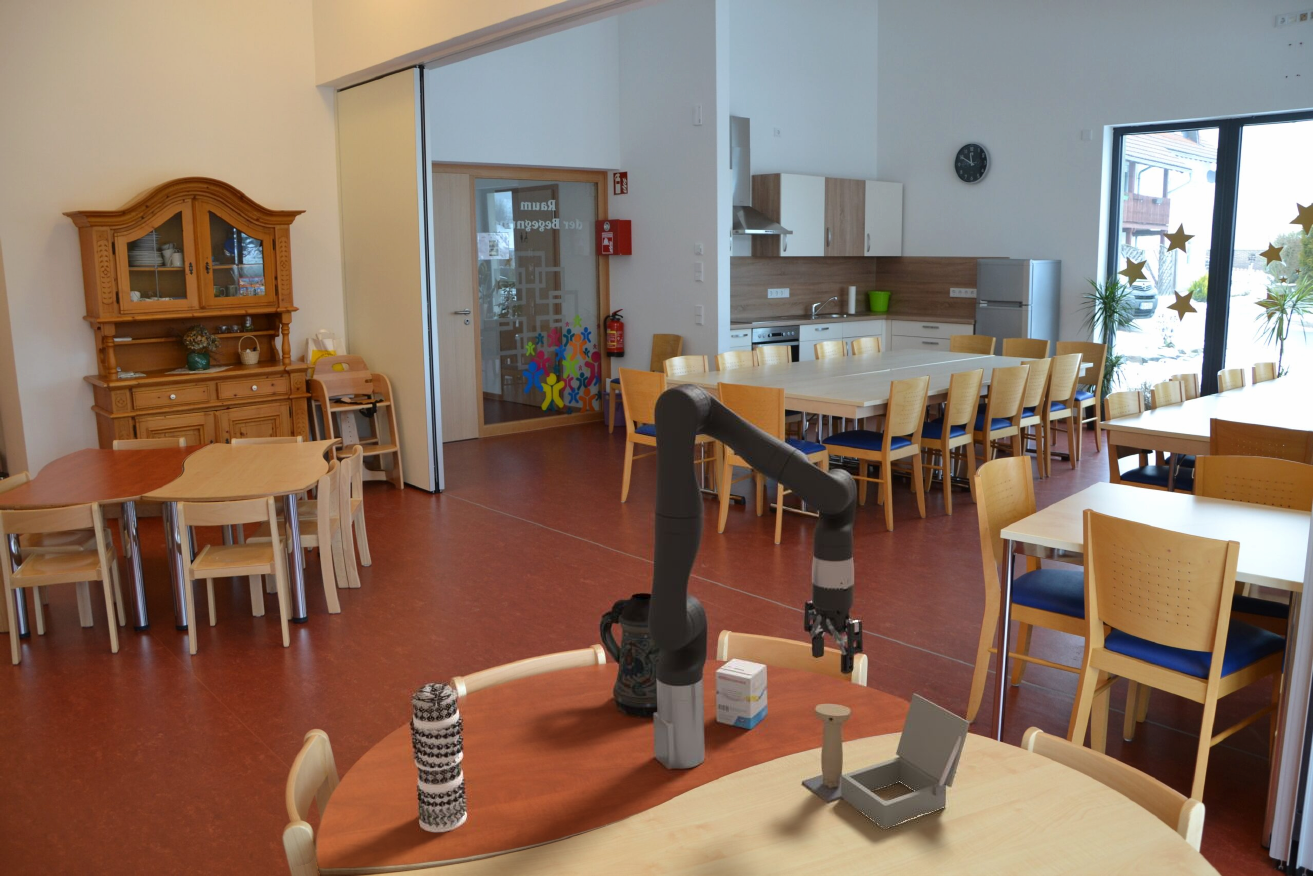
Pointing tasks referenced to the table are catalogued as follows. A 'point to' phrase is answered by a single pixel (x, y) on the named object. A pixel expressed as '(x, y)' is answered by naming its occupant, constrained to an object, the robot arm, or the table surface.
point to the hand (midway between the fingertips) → (832, 664)
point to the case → (912, 766)
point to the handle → (832, 741)
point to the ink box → (741, 693)
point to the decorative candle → (438, 758)
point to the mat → (823, 788)
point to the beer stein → (633, 656)
